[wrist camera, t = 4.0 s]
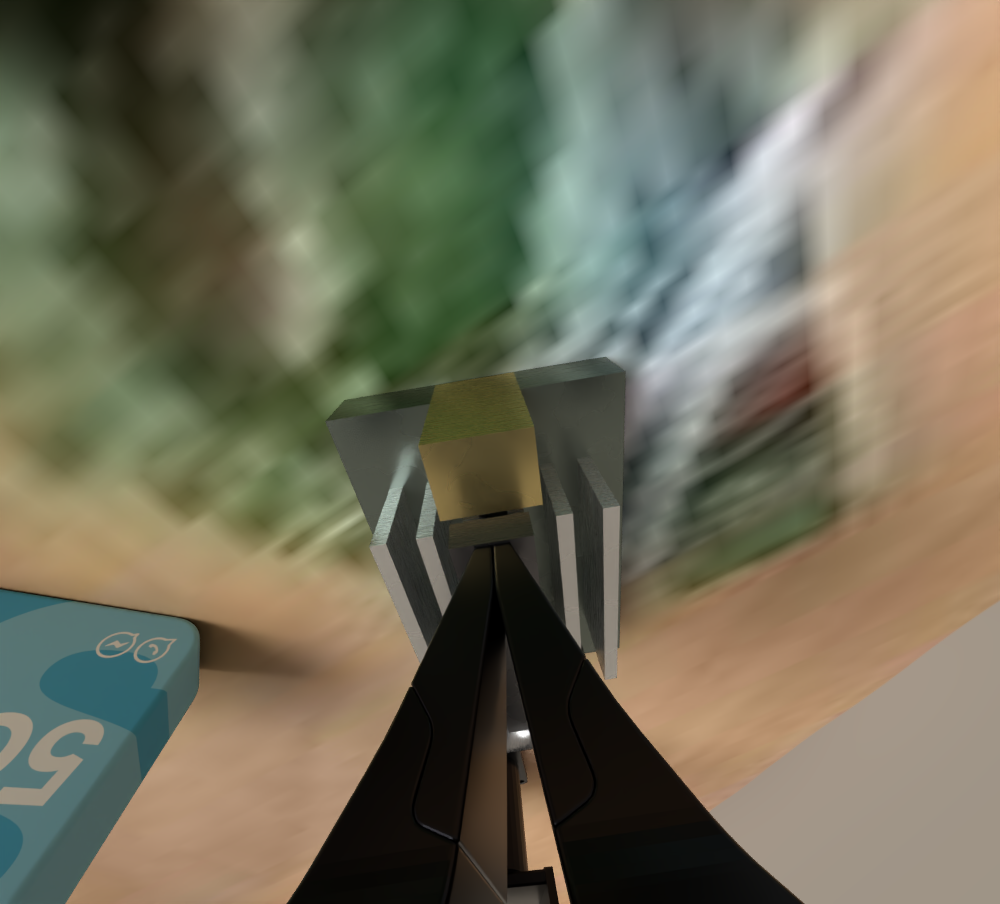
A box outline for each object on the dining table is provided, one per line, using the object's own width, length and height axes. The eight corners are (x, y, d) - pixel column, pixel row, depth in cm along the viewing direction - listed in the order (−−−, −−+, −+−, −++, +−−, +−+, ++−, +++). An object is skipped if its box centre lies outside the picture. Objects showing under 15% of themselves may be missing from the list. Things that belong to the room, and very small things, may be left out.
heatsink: (606, 614, 21) (658, 750, 15) (436, 642, 21) (422, 787, 15) (605, 356, 13) (704, 428, 8) (344, 400, 14) (251, 503, 8)
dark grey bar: (562, 705, 16) (571, 749, 15) (501, 714, 16) (504, 759, 15) (541, 498, 9) (554, 546, 8) (434, 515, 9) (429, 566, 8)
